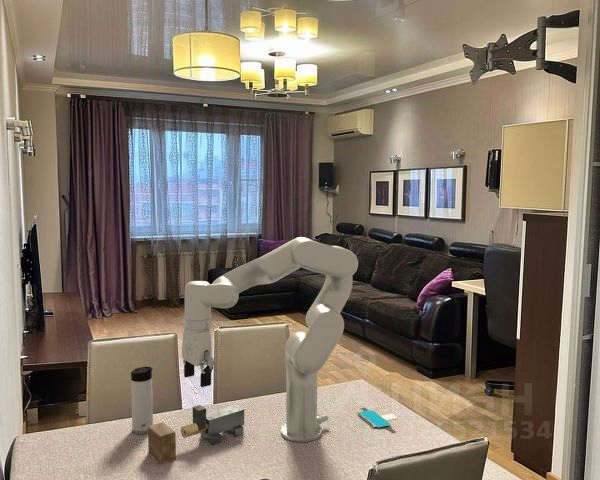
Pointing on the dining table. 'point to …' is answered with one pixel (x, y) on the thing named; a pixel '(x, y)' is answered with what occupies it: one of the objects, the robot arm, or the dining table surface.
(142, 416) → the travel mug
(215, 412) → the metal sleeve
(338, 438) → the dining table surface
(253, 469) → the dining table surface
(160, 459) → the walnut socket
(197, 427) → the brass rod
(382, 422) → the cyan and grey device
